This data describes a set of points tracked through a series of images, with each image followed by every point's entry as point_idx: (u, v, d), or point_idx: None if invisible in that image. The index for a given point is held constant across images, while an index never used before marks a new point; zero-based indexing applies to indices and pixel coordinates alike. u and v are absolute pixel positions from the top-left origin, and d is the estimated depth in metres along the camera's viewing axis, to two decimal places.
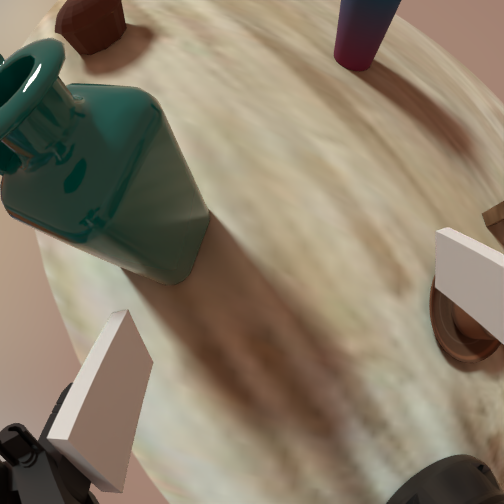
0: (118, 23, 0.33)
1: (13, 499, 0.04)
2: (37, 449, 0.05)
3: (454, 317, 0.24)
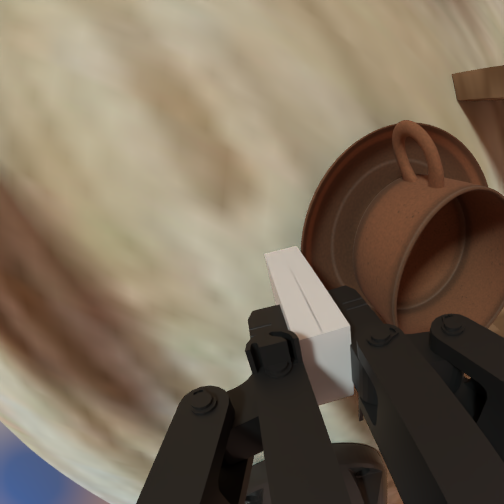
0: None
1: (242, 435, 0.06)
2: (293, 360, 0.07)
3: (355, 273, 0.14)
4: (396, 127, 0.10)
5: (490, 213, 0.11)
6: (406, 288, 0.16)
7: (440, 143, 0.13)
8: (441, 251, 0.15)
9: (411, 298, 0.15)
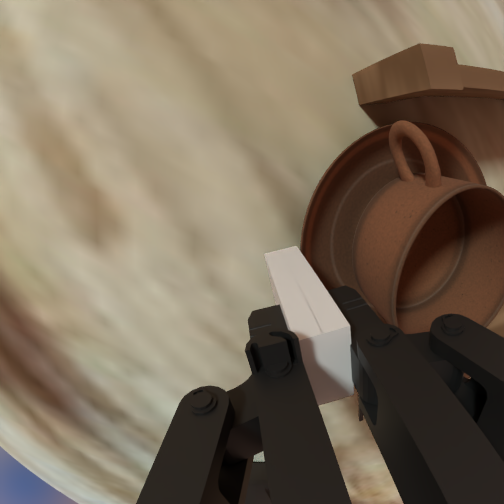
0: None
1: (242, 435, 0.06)
2: (293, 360, 0.07)
3: (355, 273, 0.14)
4: (392, 127, 0.11)
5: (489, 211, 0.11)
6: (406, 287, 0.16)
7: (437, 142, 0.13)
8: (440, 249, 0.15)
9: (411, 297, 0.15)
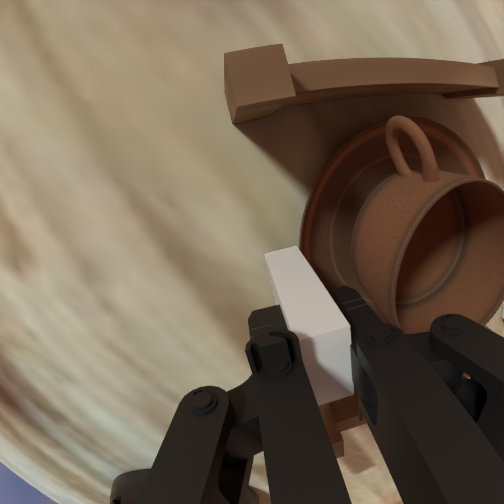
0: None
1: (242, 436, 0.06)
2: (293, 360, 0.07)
3: (355, 270, 0.14)
4: (388, 123, 0.11)
5: (488, 204, 0.11)
6: (406, 282, 0.16)
7: (434, 136, 0.13)
8: (441, 244, 0.15)
9: (412, 292, 0.15)
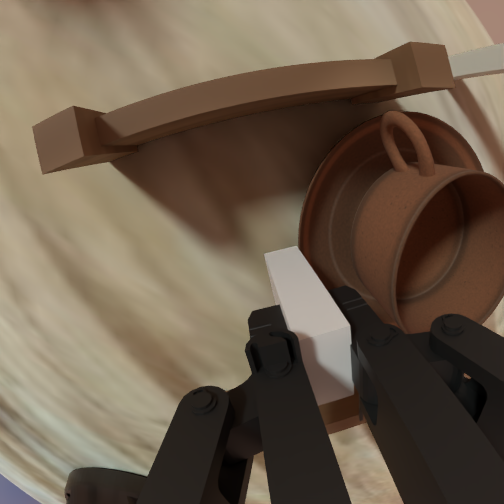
0: None
1: (242, 435, 0.06)
2: (293, 360, 0.07)
3: (355, 267, 0.14)
4: (382, 118, 0.10)
5: (486, 196, 0.11)
6: (408, 277, 0.16)
7: (430, 129, 0.13)
8: (441, 237, 0.15)
9: (414, 287, 0.15)
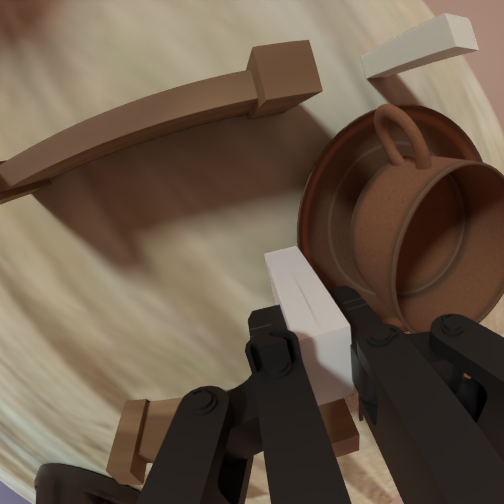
0: None
1: (242, 436, 0.06)
2: (293, 360, 0.07)
3: (355, 264, 0.14)
4: (376, 112, 0.10)
5: (485, 187, 0.11)
6: (410, 271, 0.15)
7: (426, 121, 0.12)
8: (442, 230, 0.15)
9: (417, 281, 0.15)
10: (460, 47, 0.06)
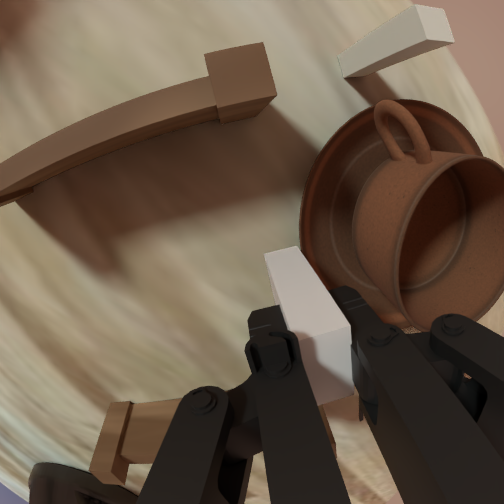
0: None
1: (241, 436, 0.06)
2: (293, 361, 0.07)
3: (358, 259, 0.14)
4: (376, 108, 0.10)
5: (486, 180, 0.11)
6: (412, 266, 0.15)
7: (426, 116, 0.12)
8: (443, 224, 0.15)
9: (419, 276, 0.15)
10: (432, 40, 0.06)
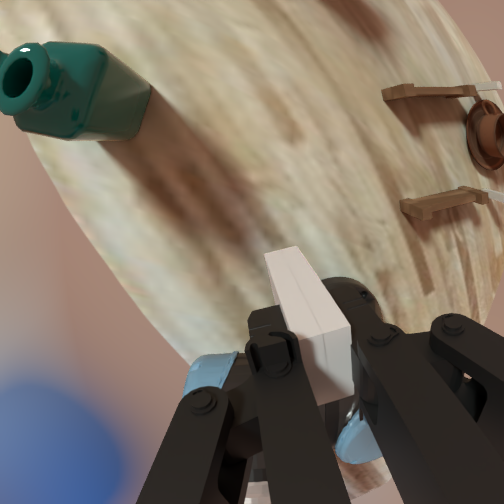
0: None
1: (242, 436, 0.06)
2: (293, 360, 0.07)
3: (480, 141, 0.36)
4: (483, 101, 0.33)
5: None
6: None
7: (489, 105, 0.35)
8: (496, 138, 0.38)
9: None
10: (498, 88, 0.29)
